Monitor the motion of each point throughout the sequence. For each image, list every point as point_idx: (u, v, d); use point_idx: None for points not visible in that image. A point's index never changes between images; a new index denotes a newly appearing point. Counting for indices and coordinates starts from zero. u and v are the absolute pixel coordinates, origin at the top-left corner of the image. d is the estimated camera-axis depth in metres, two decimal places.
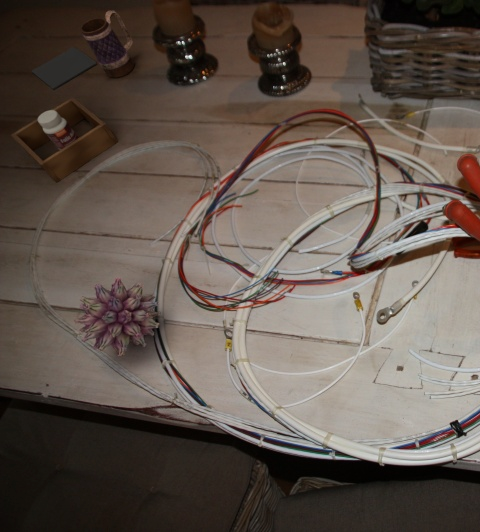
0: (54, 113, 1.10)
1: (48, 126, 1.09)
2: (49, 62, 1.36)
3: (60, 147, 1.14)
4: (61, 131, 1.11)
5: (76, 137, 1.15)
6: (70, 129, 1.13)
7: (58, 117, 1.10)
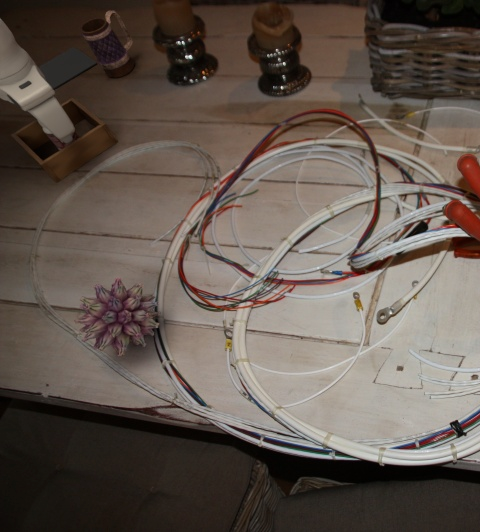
0: None
1: None
2: (49, 62, 1.36)
3: (60, 147, 1.14)
4: None
5: (76, 137, 1.15)
6: None
7: None
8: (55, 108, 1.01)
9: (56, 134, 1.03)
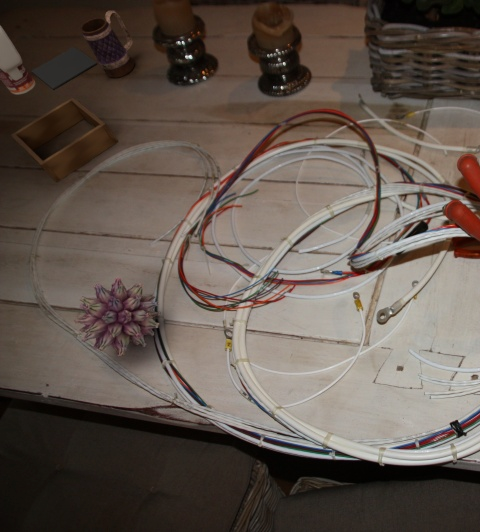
0: None
1: None
2: (49, 62, 1.36)
3: (9, 86, 1.02)
4: None
5: (28, 75, 1.03)
6: (20, 65, 1.01)
7: None
8: None
9: None
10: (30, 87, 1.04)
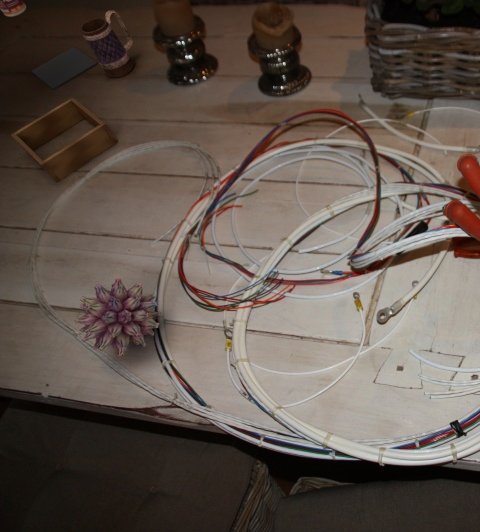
0: None
1: None
2: (49, 62, 1.36)
3: (3, 7, 1.14)
4: None
5: None
6: None
7: None
8: None
9: None
10: (21, 10, 1.16)
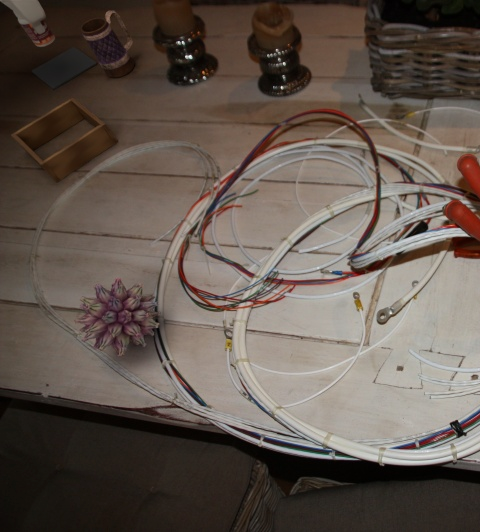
0: None
1: None
2: (49, 62, 1.36)
3: (34, 39, 1.25)
4: None
5: (49, 31, 1.26)
6: (43, 22, 1.25)
7: None
8: None
9: (28, 18, 1.15)
10: (51, 40, 1.27)
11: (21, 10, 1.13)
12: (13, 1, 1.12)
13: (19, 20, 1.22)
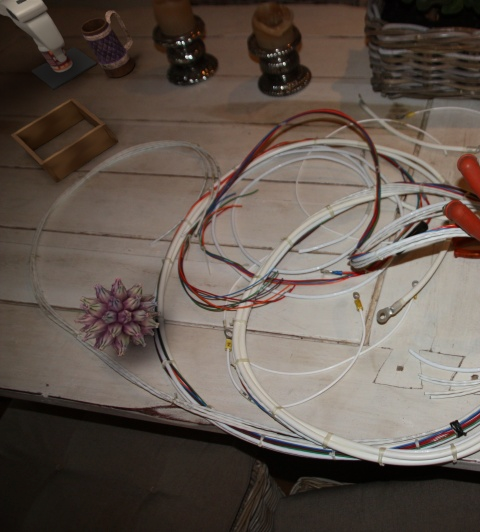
0: None
1: None
2: None
3: (53, 65, 1.31)
4: None
5: (67, 57, 1.32)
6: (62, 49, 1.30)
7: None
8: (47, 22, 1.18)
9: (48, 46, 1.20)
10: (69, 66, 1.33)
11: (42, 39, 1.19)
12: (34, 31, 1.17)
13: (39, 47, 1.28)
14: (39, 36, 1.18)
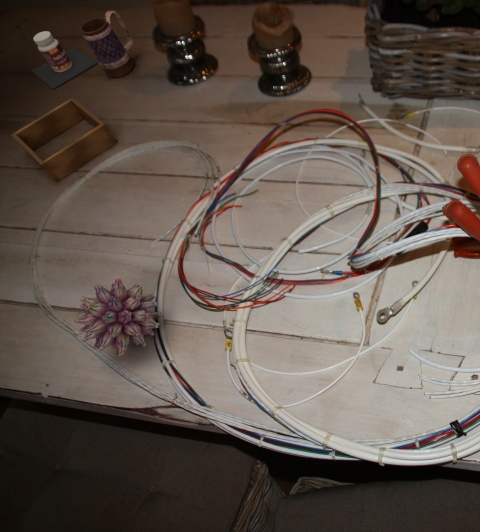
0: (47, 33, 1.27)
1: (42, 44, 1.27)
2: None
3: (53, 65, 1.31)
4: (54, 49, 1.28)
5: (67, 57, 1.32)
6: (62, 49, 1.30)
7: (51, 37, 1.27)
8: None
9: None
10: (69, 66, 1.33)
11: None
12: None
13: (39, 47, 1.28)
14: None
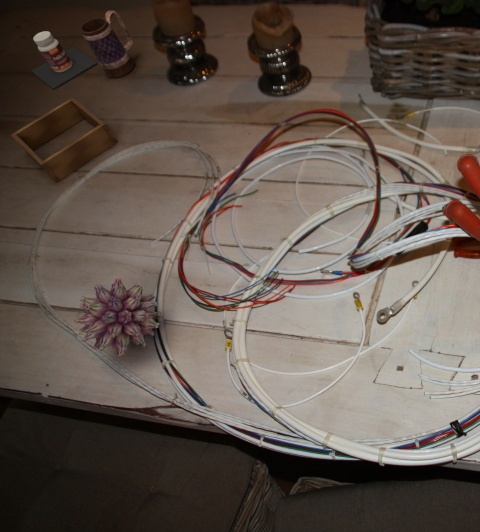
0: (47, 33, 1.27)
1: (42, 44, 1.27)
2: None
3: (53, 65, 1.31)
4: (54, 49, 1.28)
5: (67, 57, 1.32)
6: (61, 49, 1.30)
7: (51, 37, 1.27)
8: None
9: None
10: (69, 66, 1.33)
11: None
12: None
13: (39, 47, 1.28)
14: None
